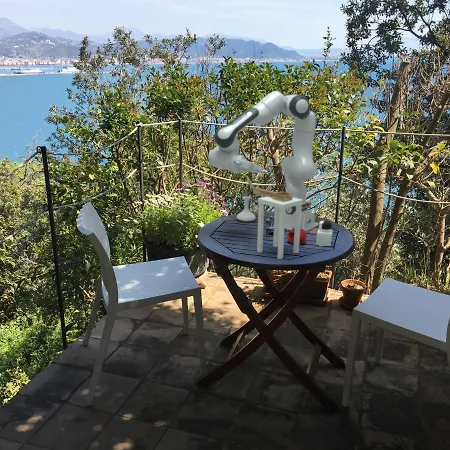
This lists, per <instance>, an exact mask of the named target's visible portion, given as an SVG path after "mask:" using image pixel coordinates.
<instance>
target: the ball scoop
mask: <svg viewBox="0 0 450 450" xmlns="http://www.w3.org/2000/svg"><path fill="white" fill-rule="evenodd" d="M252 194H255V195H258V196H262V197H270V198H273V200H277V201H281V202H286V201H290V200H292V199H293V194H291V193H287V192H286V191H277V192H276V191H272V190H268V189H264V188H259V187H254V189H253V188H252Z"/></svg>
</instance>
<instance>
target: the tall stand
mask: <svg viewBox="0 0 450 450" xmlns="http://www.w3.org/2000/svg"><path fill="white" fill-rule="evenodd" d="M257 203H258V212H257V213H258V214H257V215H258V218H257V244H256V245H257V247H256V252H257V253H259V254H260V253H262V252H263V250H264V249H263V244H264V221H265V219H264V218H265V217H264V216H265V206H270V207H273V208H274V219H273V239H272V242H273V243H272V246H273V247H274V248H277V257H276V258H278V259H277V260H279V259H282V258H283V259H284V245H285V230H286V229H285V211H286V208H290V207H293V206H296V216H295V233H294V244H293V251H292V252H293V254H295V253H298V254H299V253H300V244H299V240H300V225H301V209H302V204H303V200H302V199H298V198H293V199H292V200H290V201H286V202H281V201H277V200H273V198H270V197H266V196H262V197H258V198H257ZM283 259H282V260H283Z"/></svg>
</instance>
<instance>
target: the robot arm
mask: <svg viewBox="0 0 450 450" xmlns="http://www.w3.org/2000/svg"><path fill="white" fill-rule="evenodd" d="M279 114H282V115H283V116H288V117H291V118H293V120H294V126H293V132H292V137H291V148H292V151H293V155H289V156H286V157H284V159H282V162H281V165H280V166H281V169H282V171H283V174H284V180H285V186H286V189H285V190H286V191H285V192H287V193H291V194H293V198H298V199H302V200H303V204H302V209H301V225H300V227H302V228H300V229H304V231H305V232H308V231H311V230H312V229H314V228H316V227H317V226H318V227H319V222H318V221H315V220H316V219H315V217H316V216H315V214H314V213H313V212H312V211H310V210H309V208H308V207H310V206H312V205H311V204H312V203H311V202H307V194H308V189H307V186H306V183H305V181H309V180H311V179H313V178H314V177H315V175H316V174H317V167H316V165H315V163H314V162H315V161H314V157H313V155H314V154H313V143H314V139H315V132H316V131H315V130H316V114H315V112H314V111H312V109H311V104H310V101H309V98H308V97H306V96H304V95H303V94H293V93H292V94H286V95H284V94H283V93H282V92H280V91H279V90H273V91H272V92H270V93H268V94H267V95H265V96H264V97H263V98H262V99H261V100H260V101H259V102H258V103H256V104H255V105H254V106H252V107H250V108H248V109H247V110H244V111H243V112H242V113H240V115H238V116H237V117H236V118H234V119H232V121H230V122H229V123H227V124H225V125H223V126H221V127H219V128H218V129H217V130H216V131H215V133H214V138H213V139H214V142H215V143H216V147H214V148H213V149H210V151H208V155H207V156H208V157H207V158H208V163H209V164H210V166H212V167H214V168H216V169H220V170H227V171H229V172H231V173H236V174H241V173H246V172H247V173H254V174H260V173H265V174H267V173H268V169H267V168H264V167H262V166H260V165H258V164H256V163H253V162H252V161H249V160H248V159H247V158H245V156H244V155H241V154H238V153H239V150H240V142H239V140H238V138H237V135H238V134H239V133H240V132H241V131H243V129H245V128H246V127H247V126H249V125H250V124H255V125H257V126H266V125H267V124H269V123H270V122H271V121H272V120H273V119H275V117H277V115H279ZM295 216H296V206H293V207H290V208H286V211H285V230H289V231H291V229H293V228H291V227H294V228H295Z"/></svg>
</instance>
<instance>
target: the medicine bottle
mask: <svg viewBox="0 0 450 450" xmlns="http://www.w3.org/2000/svg"><path fill="white" fill-rule="evenodd" d="M318 223H319V225H318V229H317V232H316V239H315V240H316V243H315V246H316V245H319V246H318V247H322V246H332V243H331V242H333V241H332V240H333V229H332V228H333V227H332V226H333V223H332V222H331V221H330V220H321V221H319V222H318Z"/></svg>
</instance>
